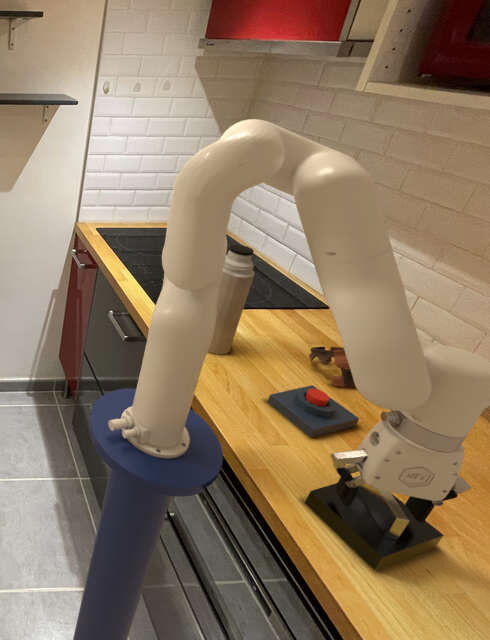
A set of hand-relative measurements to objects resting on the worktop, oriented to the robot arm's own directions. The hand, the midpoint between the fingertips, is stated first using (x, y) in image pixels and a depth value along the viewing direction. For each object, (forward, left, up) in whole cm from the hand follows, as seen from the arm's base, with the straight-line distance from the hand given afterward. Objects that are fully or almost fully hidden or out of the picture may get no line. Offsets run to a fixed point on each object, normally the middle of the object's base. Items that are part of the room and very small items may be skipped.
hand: (377, 505), depth 71 cm
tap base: (0, 0, -4) cm, 4 cm away
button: (+14, +21, -1) cm, 25 cm away
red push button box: (+14, +21, -4) cm, 26 cm away
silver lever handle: (0, 0, -1) cm, 1 cm away
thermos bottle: (+12, +46, -5) cm, 48 cm away
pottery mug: (+32, +29, -5) cm, 43 cm away
